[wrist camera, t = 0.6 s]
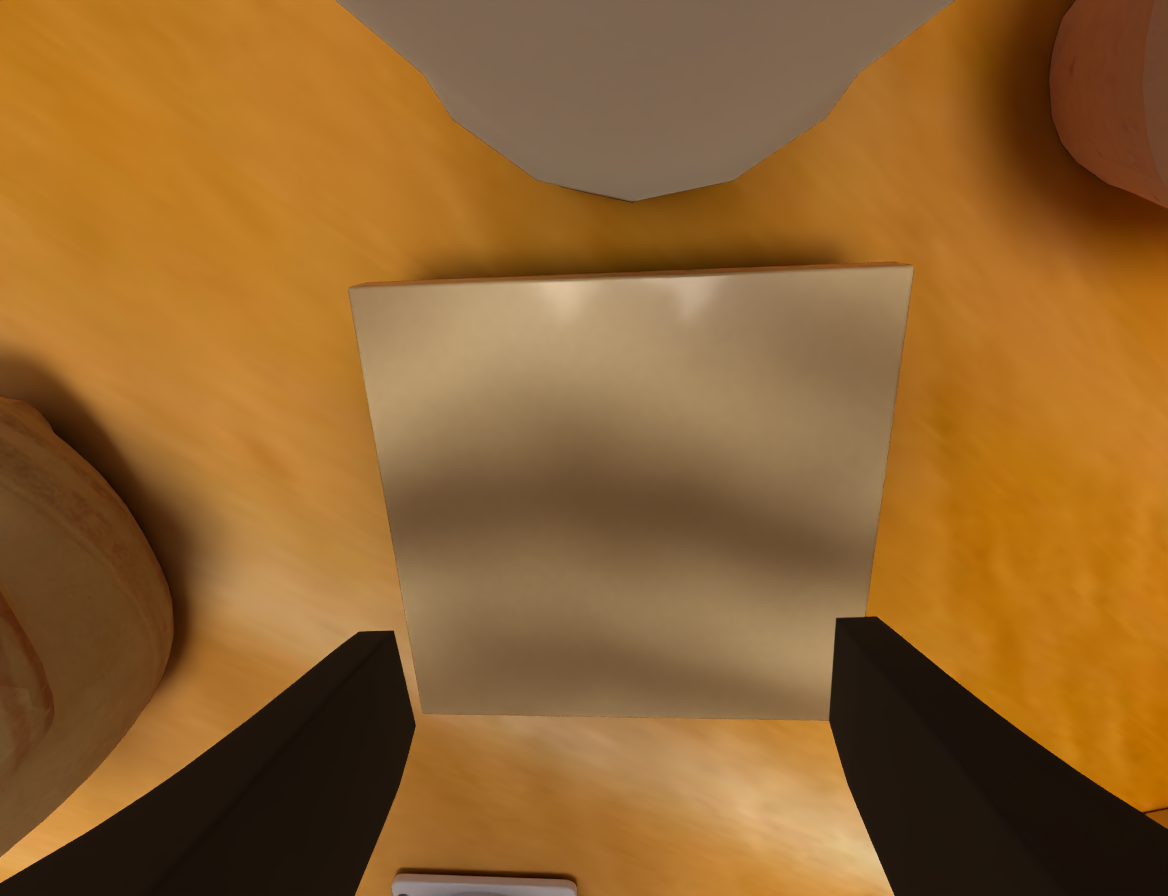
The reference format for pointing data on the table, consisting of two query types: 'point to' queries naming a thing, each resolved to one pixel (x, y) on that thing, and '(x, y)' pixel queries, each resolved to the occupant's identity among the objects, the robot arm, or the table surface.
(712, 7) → the bottle
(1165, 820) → the block
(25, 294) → the table surface
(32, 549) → the ceramic vessel
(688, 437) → the box
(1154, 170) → the potted plant
